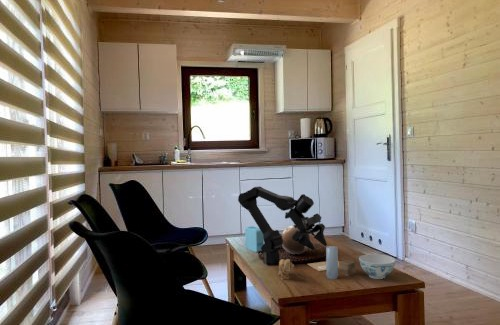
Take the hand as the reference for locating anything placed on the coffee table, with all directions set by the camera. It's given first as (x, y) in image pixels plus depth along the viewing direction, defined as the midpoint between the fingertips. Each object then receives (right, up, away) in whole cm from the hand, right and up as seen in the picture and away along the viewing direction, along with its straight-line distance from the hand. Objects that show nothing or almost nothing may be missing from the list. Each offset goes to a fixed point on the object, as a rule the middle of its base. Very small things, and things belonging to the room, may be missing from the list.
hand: (320, 247), depth 183 cm
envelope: (+6, -11, +14) cm, 19 cm away
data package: (-28, -11, +46) cm, 55 cm away
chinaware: (+24, -12, -3) cm, 27 cm away
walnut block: (+12, -12, +2) cm, 17 cm away
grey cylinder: (+5, -12, -3) cm, 13 cm away
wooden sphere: (-7, -11, +36) cm, 38 cm away
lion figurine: (-15, -13, -1) cm, 20 cm away
